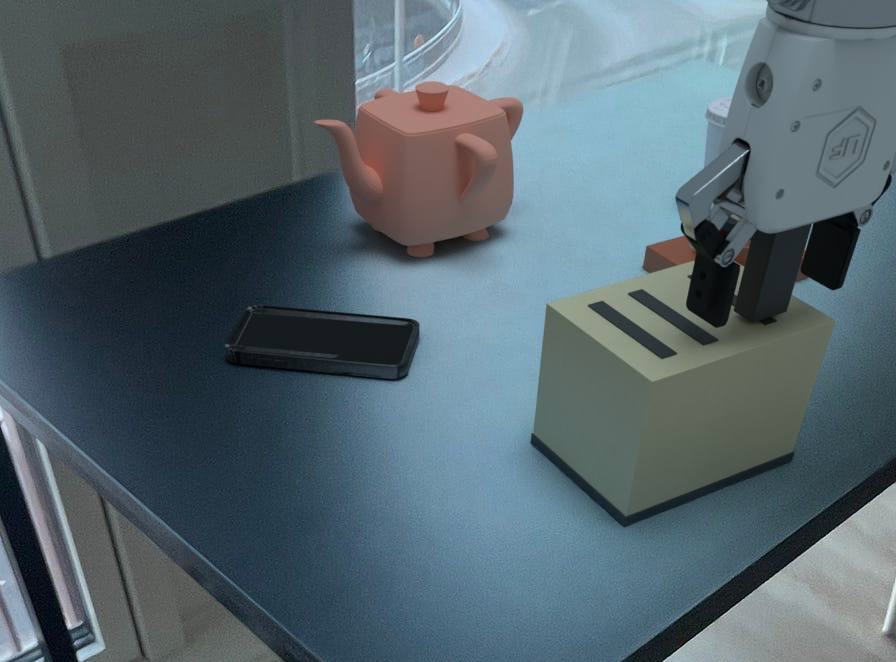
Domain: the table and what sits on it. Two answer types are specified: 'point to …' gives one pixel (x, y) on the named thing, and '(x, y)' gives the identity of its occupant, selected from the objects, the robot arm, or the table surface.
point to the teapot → (430, 163)
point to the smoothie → (715, 127)
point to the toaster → (670, 392)
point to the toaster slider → (770, 273)
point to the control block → (684, 255)
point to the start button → (728, 227)
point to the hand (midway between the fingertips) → (764, 298)
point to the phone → (324, 341)
